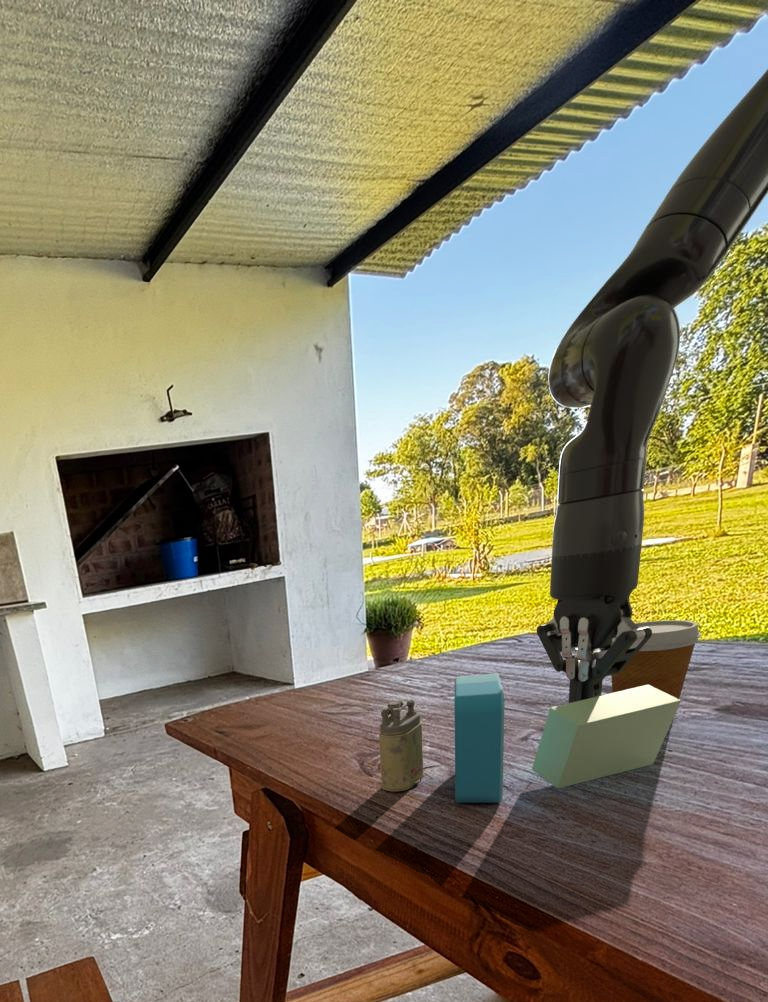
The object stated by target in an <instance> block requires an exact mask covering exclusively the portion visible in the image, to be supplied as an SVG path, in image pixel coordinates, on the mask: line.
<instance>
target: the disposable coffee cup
mask: <svg viewBox="0 0 768 1002" xmlns="http://www.w3.org/2000/svg"><path fill="white" fill-rule="evenodd" d="M634 623H635V624H636V625H637V626H638V627H639V628H644V627H649V628H650V629H651V630H652V636H651V637H650V639H649V640H648V641H647V642H646V643H645V644H644V646H643V647H642V648H641V649H640V650H639V651H638V653H637V654H636V655H635V656H634V657H633V658H632V659H631V661H630V662H629V663H628V664H627V665H626V666H625V668H624V669H623V670H622V671H621V672H620V673H618V674H613V675H610V676H611V691H612V692H611V693H614V692H619V691H623V690H627V689H631V688H636V687H640V686H644V685H650V686H652V687H654V688H657V689H659V690H661V691H663V692H665V693H667V694H669V695H671V696H673V697H675V698H677V699H679V700H680V697H681V694H682V692H683V688H684V683H685V681H686V676H687V674H688V670H689V667H690V663H691V659H692V656H693V651H694V647H695V645H696V644H697V643H698V641H699V639H701V636H702V633H701V632H700V631H699V626H698V625H699V624H698V623H697V622H696V621H691V620H684V619H683V620H682V619H679V620H678V619H674V620H672V619H670V620H669V619H668V620H667V619H666V620H651V621H650V620H649V621H641V622H640V621H639V622H634ZM674 719H675V717H674V718H673V720H674Z"/></svg>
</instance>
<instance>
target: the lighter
mask: <svg viewBox="0 0 768 1002" xmlns="http://www.w3.org/2000/svg"><path fill="white" fill-rule="evenodd" d="M406 707H407V711H402V710H403V709H405V708H406ZM380 715H381V719H382V720H381V723H380V724H379V733H378V739H379V740H378V741H379V756H380V757H379V758H380V777H381V784H380V788H381V789H382V790H383V791H386V792H403V791H404V792H405V791H407V790H409V789H411V788H412V787H413V786H414V785H418V784H420V783H421V779H423V778H424V777H425V772H424V748H423V747H424V745H423V722H422V721H421V713H420V712H419V711H416V710H415V700H413V699H410V700H407V701H406V703H405V704H404V702H403V700H398V701H391V702H389V703H387V708H383V709H382V710H381V711H380Z"/></svg>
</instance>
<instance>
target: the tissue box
mask: <svg viewBox="0 0 768 1002" xmlns="http://www.w3.org/2000/svg"><path fill="white" fill-rule="evenodd" d="M681 703H682V700H681V699H680V698H679V699H677V698H675V697H673V696H671V695H669V694H667V693H665V692H663V691H661V690H659V689H657V688H654V687H652V686H650V685H644V686H640V687H636V688H631V689H627V690H623V691H619V692H614V693H613V692H610V693H606V694H601V696H598V697H593V698H589V699H585V700H581V701H576V702H572V703H569V702H568V703H564V704H560V705H555V706H552V707H550V708H549V710H548V714H547V717H546V720H545V724H544V727H543V731H542V734H541V737H540V741H539V744H538V747H537V750H536V754H535V757H534V761H533V764H532V767H531V768H532V769H531V770H532V772H535V774H537V775H538V776H540V777H541V778H542V779H544V780H545V781H547V783H549V784H551V786H553V787H554V788H555V789H562V788H566V787H569V786H573V785H578V784H581V783H585V782H589V781H590V782H591V781H594V780H597V779H601V778H606V777H608V776H613V775H617V774H622V773H625V772H629V771H631V770H633V771H634V770H637V769H640V768H643V767H648V766H652V765H654V763H655V761H656V759H657V757H658V754H659V752H660V749H661V747H662V745H663V743H664V741H665V738H666V737H667V734H668V732H669V729H670V727H671V724H672V723H673V720H674V719H675V715H676V714H677V711H678V709H679V707H680V704H681ZM673 718H674V719H673Z"/></svg>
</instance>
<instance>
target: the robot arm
mask: <svg viewBox="0 0 768 1002" xmlns="http://www.w3.org/2000/svg"><path fill="white" fill-rule="evenodd" d="M767 194H768V68H767V69H766V70H765V72H764V73H763V74H762V75H761V77H759V79H758V80H757V81H756V82H755V83H754V85H753V86H752V87H751V88H750V89H749V90H748V92H747V93H746V94H745V95H744V96H743V97H742V99H741V100H739V102H738V103H737V104H736V105H735V107H734V108H733V109H732V110H731V111H730V112H729V113H728V115H727V116H726V117H725V118H724V119H723V121H722V122H721V123H720V124H719V125H718V126H717V127H716V129H715V130H714V131H713V132H712V133H711V135H710V136H709V137H708V138H707V139H706V141H705V142H704V143H703V144H702V146H701V147H700V148H699V149H698V151H697V152H696V154H694V156H693V157H692V159H691V160H690V161H689V162H688V163H687V165H686V166H685V168H684V169H683V170H682V172H681V173H680V174H679V176H678V177H677V178H676V181H675V182H674V183H673V184H672V186H671V187H670V189H669V191H668V192H667V194H666V195H665V197H664V199H663V200H662V202H661V203H660V205H659V206H658V208H657V210H656V211H655V212H654V214H653V216H652V218H651V219H650V221H649V222H648V224H647V225H646V227H645V228H644V230H643V231H642V233H641V235H640V236H639V238H638V239H637V241H636V243H635V244H634V246H633V248H632V249H631V252H630V253H629V254H628V255H627V257H626V258H625V259H624V261H622V263H621V264H620V265H619V266H618V268H616V270H615V271H614V272H613V273H612V274H611V276H609V278H608V279H607V280H606V281H605V282H604V284H603V285H602V286H601V287H600V288H599V290H598V291H597V292H596V293H595V294H594V296H593V297H592V298H591V299H590V301H589V302H588V303H587V305H586V306H585V307H584V308H583V309H582V311H580V313H579V314H578V315H577V317H576V318H575V319H574V320H573V322H572V323H571V325H570V326H569V328H567V330H566V332H565V333H564V335H563V337H562V338H561V340H560V342H559V343H558V345H557V347H556V349H555V351H554V354H553V356H552V359H551V362H550V364H549V369H548V376H547V377H548V378H547V382H548V389H549V392H550V394H551V397H552V398H553V400H554V401H555V402H556V403H557V404H558V405H560V406H562V407H563V408H568V409H582V408H587V407H589V410H588V415H587V419H586V422H585V424H584V427H583V429H582V430H581V431H580V432H579V433H578V434H577V435H576V436H575V437H573V438H571V440H570V441H568V442H567V443H566V444H565V445H564V447H563V449H562V451H561V453H560V457H559V467H558V483H557V485H558V486H557V506H556V512H555V518H554V523H553V527H552V543H551V565H550V566H551V567H550V583H549V584H550V586H549V587H550V588H549V596H550V597H551V598H552V599H554V600H556V605H555V606H554V609H553V617H552V618H551V619H550V620H549V621H548V622H546V623H545V624H540V625H538V626H537V627H536V635H537V637H538V639H539V640H540V642H541V645H542V646H543V648H544V651H545V653H546V654H547V656H548V658H549V661H550V662H551V665H552V667H553V669H554V671H555V672H558V673H560V672H563V673H564V674H565V676H566V678H567V679H568V680H569V690H568V703H572V702H576V701H581V700H585V699H589V698H593V697H598V696H602V690H603V681H604V679H605V678H606V677H609V676H611V675H613V674H618V673H620V672H621V671H622V670H623V669H624V668H625V666H626V665H627V664H628V663H629V662H630V661H631V659H632V658H633V657H634V656H635V655H636V654H637V653H638V651H639V650H640V649H641V648H642V647H643V646H644V644H645V643H646V642H647V641H648V640H649V639H650V637H651V636H652V630H651V629H650V628H649V627H644V628H639V627H638V626H637V625H636V624H635V623H636V622H635V621H634V620H633V619H632V616H633V607H632V605H631V600H630V596H631V594H632V592H633V591H634V590H636V589H637V587H638V585H639V574H640V565H641V555H642V544H643V535H644V525H645V501H644V500H645V499H644V498H645V497H644V496H645V495H644V492H645V491H644V489H645V481H646V472H647V463H648V462H647V461H648V459H647V458H648V444H649V440H650V437H651V435H652V432H653V430H654V427H655V425H656V422H657V420H658V418H659V414H660V411H661V408H662V405H663V402H664V399H665V396H666V393H667V392H668V387H669V385H670V382H671V379H672V376H673V374H674V370H675V365H676V363H677V359H678V356H679V350H680V342H681V328H680V320H679V317H678V314H677V311H676V310H675V308H676V307H678V306H679V305H681V303H683V302H685V301H686V300H688V299H689V298H690V297H691V296H693V295H695V293H696V292H698V290H700V289H701V288H703V287H702V286H704V285H705V283H706V282H708V280H709V278H710V277H712V275H713V274H714V272H715V271H716V269H717V268H718V267H719V265H720V264H721V262H722V261H723V259H724V258H725V256H726V255H727V253H728V252H729V250H730V249H732V247H733V245H734V243H735V242H736V240H738V238H739V236H740V234H741V233H742V232H743V230H744V228H745V227H746V225H747V224H748V222H749V221H750V220H751V218H752V216H753V215H754V214H755V212H757V211H756V210H757V209H758V208H759V206H760V205H761V203H762V202H763V200H764V199H765V197H766V196H767Z"/></svg>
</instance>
